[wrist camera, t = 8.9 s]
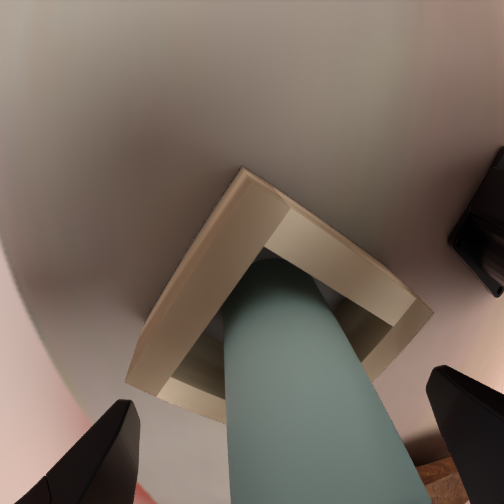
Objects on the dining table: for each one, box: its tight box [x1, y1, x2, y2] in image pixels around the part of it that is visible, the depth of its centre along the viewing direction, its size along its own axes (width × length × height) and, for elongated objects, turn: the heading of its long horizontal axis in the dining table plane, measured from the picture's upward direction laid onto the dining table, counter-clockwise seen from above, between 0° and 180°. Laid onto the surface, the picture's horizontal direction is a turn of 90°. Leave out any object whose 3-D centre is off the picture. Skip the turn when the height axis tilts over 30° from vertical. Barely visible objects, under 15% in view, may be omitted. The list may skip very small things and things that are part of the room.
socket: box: [125, 166, 434, 424], centre depth 12 cm, size 8×8×4 cm
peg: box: [223, 258, 432, 504], centre depth 9 cm, size 4×4×10 cm
